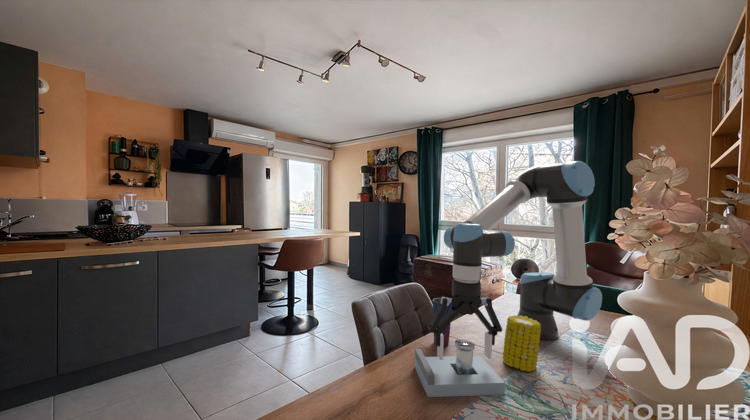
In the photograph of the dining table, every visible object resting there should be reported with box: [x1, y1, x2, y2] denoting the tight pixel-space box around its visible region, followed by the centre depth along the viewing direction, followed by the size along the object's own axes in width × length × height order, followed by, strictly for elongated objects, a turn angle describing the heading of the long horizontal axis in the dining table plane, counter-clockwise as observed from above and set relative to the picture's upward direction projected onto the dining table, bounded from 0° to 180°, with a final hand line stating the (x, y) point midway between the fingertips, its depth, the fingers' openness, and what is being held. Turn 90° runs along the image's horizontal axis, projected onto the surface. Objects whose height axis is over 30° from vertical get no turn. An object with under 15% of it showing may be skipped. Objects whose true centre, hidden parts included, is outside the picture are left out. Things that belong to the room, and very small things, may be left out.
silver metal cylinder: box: [454, 338, 475, 375], centre depth 82 cm, size 5×5×10 cm
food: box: [502, 315, 541, 373], centre depth 91 cm, size 15×12×10 cm
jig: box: [414, 348, 506, 398], centre depth 82 cm, size 20×14×5 cm
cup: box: [432, 297, 453, 348], centre depth 104 cm, size 7×7×15 cm
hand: (464, 357), depth 82 cm, fingers open, 13 cm apart
